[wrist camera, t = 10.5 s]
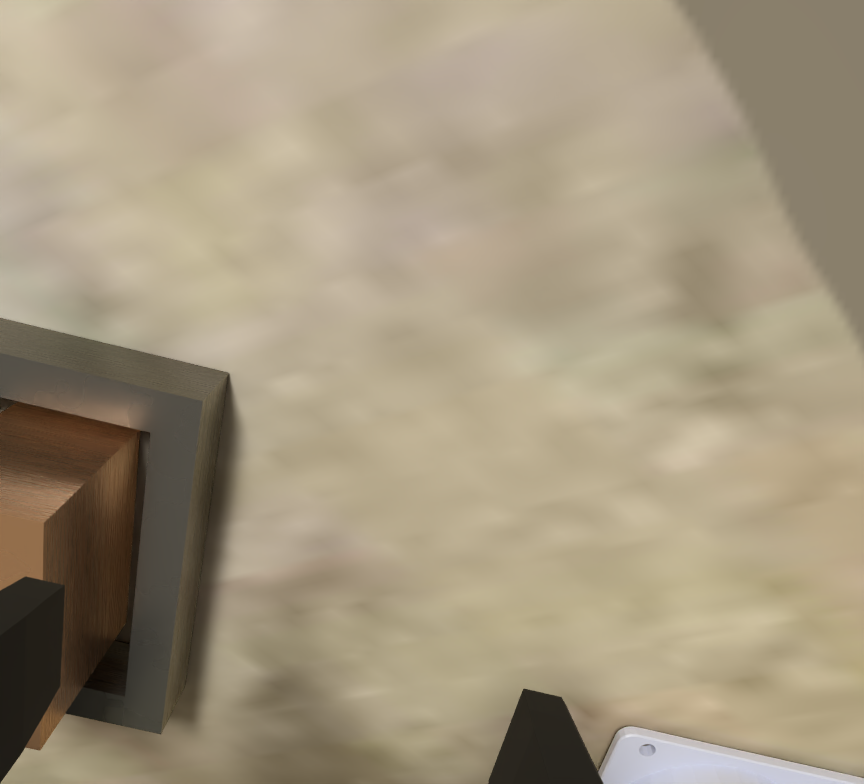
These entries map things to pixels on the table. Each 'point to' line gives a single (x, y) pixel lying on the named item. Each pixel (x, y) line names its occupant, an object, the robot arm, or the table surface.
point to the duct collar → (163, 500)
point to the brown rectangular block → (69, 529)
